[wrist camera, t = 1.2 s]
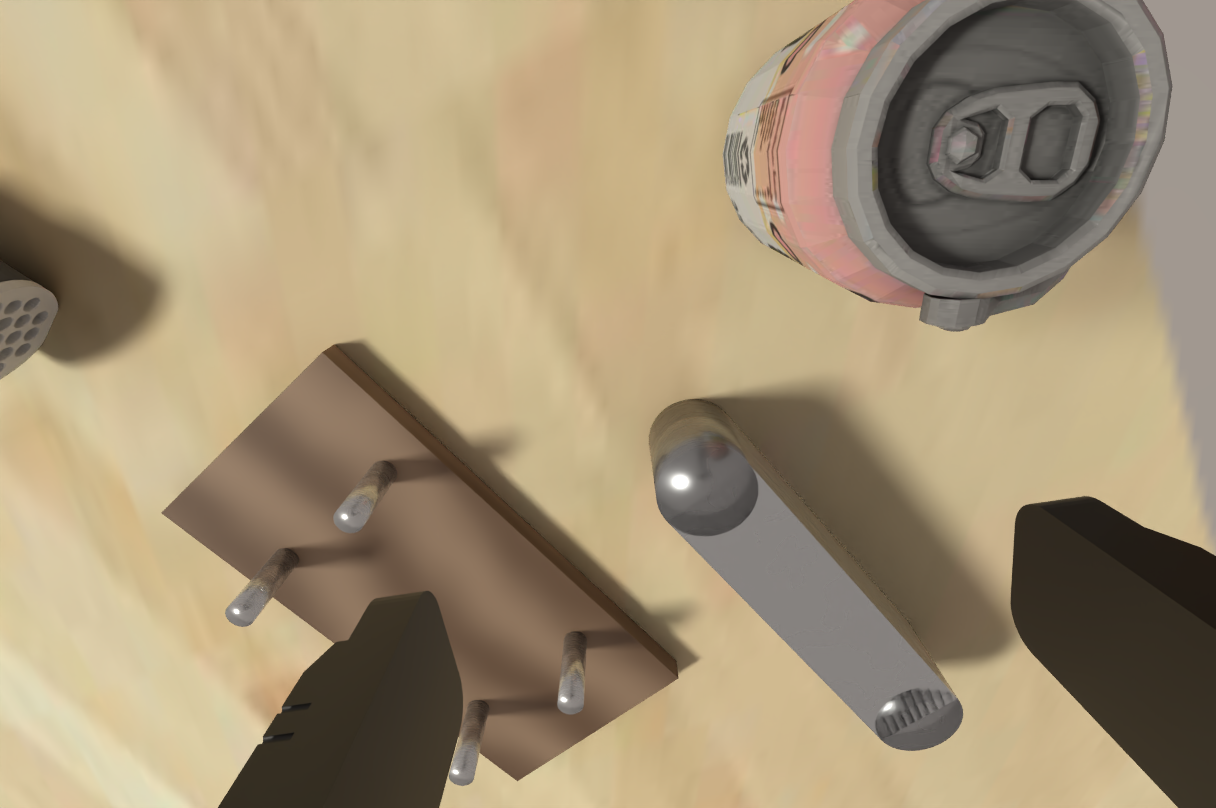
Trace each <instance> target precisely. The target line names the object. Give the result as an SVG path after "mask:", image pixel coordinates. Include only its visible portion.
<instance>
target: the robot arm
mask: <svg viewBox="0 0 1216 808" xmlns="http://www.w3.org/2000/svg"><path fill="white" fill-rule="evenodd" d="M1011 611H1012V616H1013V619H1014V623H1015V625H1016V628H1017V630H1018V633H1019V635H1020V637H1021V638H1022V640H1023V642H1024V643H1025V645H1026V646H1027V648H1028V649H1029V650H1030V651H1031V653H1032V654H1033V655H1034V656H1035V657H1036V658H1037V659H1038V660H1039V661H1040V662H1041V663H1042V664H1043V665H1044V666H1045V668H1046V669H1047V670H1048V671H1049V672H1050V673H1051V674H1052V675H1053V676H1054V677H1055V678H1056V679H1057V680H1058V681H1059V682H1060V683H1061V684H1062V685H1063V687H1064V688H1065V689H1066V690H1067V691H1068V692H1069V693H1070V694H1071V695H1072V696H1073V697H1074V698H1075V699H1076V700H1077V701H1078V702H1079V703H1080V704H1081V706H1082V707H1083V708H1084V709H1085V710H1086V711H1087V712H1088V713H1089V714H1090V715H1091V716H1092V717H1093V718H1094V719H1095V720H1096V721H1097V722H1098V723H1099V724H1100V726H1101V727H1102V728H1103V729H1104V730H1105V731H1106V732H1107V733H1108V734H1109V735H1110V736H1111V737H1112V738H1113V739H1114V740H1115V741H1116V742H1117V743H1118V745H1119V746H1120V747H1121V748H1122V749H1123V750H1124V751H1125V752H1126V753H1127V754H1128V755H1129V756H1130V757H1131V758H1132V759H1133V760H1134V761H1135V762H1136V764H1137V765H1138V766H1139V767H1140V768H1141V769H1142V770H1143V771H1144V772H1145V773H1146V774H1147V775H1148V776H1149V777H1150V778H1151V779H1152V780H1153V781H1154V783H1155V784H1156V785H1157V786H1158V787H1159V788H1160V789H1161V790H1162V791H1163V792H1164V793H1165V794H1166V795H1167V796H1168V797H1169V798H1170V799H1171V800H1172V802H1173V803H1174V804H1175V805H1176V806H1177V807H1178V808H1216V556H1214V555H1213V554H1211V553H1209V552H1208V551H1206V550H1204V549H1202V548H1201V547H1198V546H1195V545H1192V544H1190V543H1187V542H1184V541H1181V540H1178V539H1176V538H1173V537H1170V536H1167V535H1165V534H1162V533H1159V532H1156V531H1153V530H1151V529H1148V528H1144V527H1143V526H1141V525H1139V524H1138V523H1136V522H1134V521H1133V520H1131V519H1130V518H1128V517H1126V516H1125V515H1123V514H1121V513H1120V512H1118V511H1116V510H1115V509H1113V508H1111V507H1110V506H1108V505H1106V504H1105V503H1103V502H1101V501H1100V500H1098V499H1096V498H1093V497H1088V496H1083V497H1076V498H1069V499H1062V500H1056V501H1049V502H1042V503H1035V504H1029V505H1025V506H1023V507H1022V508H1021V509H1020V510H1019V512H1018V513H1017V516H1016V521H1015V534H1014V551H1013V568H1012V586H1011ZM462 715H463V691H462V683H461V678H460V675H459V671H458V668H457V665H456V661H455V658H454V655H453V651H452V648H451V645H450V641H449V638H448V635H447V631H446V628H445V625H444V621H443V618H442V615H441V611H440V608H439V605H438V602H437V600H436V598H435V596H434V595H433V593H432V592H430V591H422V592H415V593H408V594H401V595H394V596H387V597H381V598H375V599H373V600H372V601H371V602H370V604H369V605H368V607H367V608H366V610H365V612H364V613H363V615H362V617H361V619H360V620H359V622H358V624H357V626H356V627H355V629H354V631H353V632H352V634H351V636H350V638H349V639H348V640H345V641H338V642H336V643H335V644H334V645H333V646H331V647H330V648H329V649H328V650H327V651H326V652H325V653H324V654H323V655H322V656H321V657H320V658H319V659H317V660H316V661H315V662H314V663H313V664H312V665H311V666H310V667H309V668H308V669H307V670H306V671H305V672H304V673H303V674H302V676H301V677H300V679H299V680H298V682H297V684H296V685H295V687H294V688H293V690H292V691H291V693H290V695H289V696H288V698H287V699H286V701H285V703H284V704H283V706H282V713H280V714H277V715H276V717H275V718H274V720H273V721H272V723H271V725H270V726H269V728H268V729H267V731H266V733H265V734H264V736H263V743H262V744H259V745H257V747H256V748H255V750H254V751H253V753H252V755H251V756H250V758H249V759H248V761H247V763H246V764H245V766H244V767H243V769H242V770H241V772H240V774H239V775H238V777H237V778H236V780H235V781H234V783H233V785H232V786H231V788H230V789H229V791H228V793H227V794H226V796H225V797H224V799H223V800H222V802H221V804H220V805H219V807H218V808H439V806H440V802H441V799H442V795H443V791H444V787H445V784H446V780H447V776H448V773H449V769H450V765H451V761H452V758H453V754H454V750H455V747H456V743H457V739H458V735H459V732H460V728H461V723H462Z"/></svg>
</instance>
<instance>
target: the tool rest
mask: <svg viewBox="0 0 1216 808" xmlns="http://www.w3.org/2000/svg"><path fill="white" fill-rule="evenodd" d="M162 514H163V515H165V516H166V517H167V518H169V519H170V520H171V521H173V522H174V523H175V524H177V525H178V526H179V527H181V528H182V529H183V530H185V531H186V532H187V533H188V534H190V535H191V536H192V537H194V538H195V539H196V540H198V541H199V542H200V543H202V544H203V545H204V546H206V547H207V548H208V549H210V550H211V551H212V552H214V553H215V554H216V555H218V556H219V557H220V558H222V559H223V560H224V561H226V562H227V563H228V564H230V565H231V566H232V567H234V568H235V569H236V570H238V571H239V572H240V573H242V574H243V575H244V576H246V577H247V578H248V579H250V580H251V581H250V582H249V583H248V584H247V585H246V587H245V588H244V589H243V590H242V591H241V592H240V594H239V595H238V596H237V597H236V598H235V599H234V601H233V602H232V603H231V604H230V605H229V606H228V607H227V609H226V612H225V614H226V617H227V619H228V620H229V621H230V622H231V623H232V624H234V625H237V626H241V627H245V626H249V625H251V624H252V623H253V621H254V620H255V619H256V618H257V616H258V615H259V614H260V612H261V611H262V610H263V609H264V607H265V606H266V605H267V603H268V602H269V601H270V600H271V598H272V597H274V598H275V599H276V600H277V601H279V602H280V603H281V604H283V605H284V606H285V607H287V608H288V609H289V610H291V611H292V612H293V613H295V614H296V615H297V616H299V617H300V618H301V619H303V620H304V621H305V622H307V623H308V624H309V625H311V626H312V627H313V628H315V629H316V630H317V631H319V632H320V633H321V634H323V635H324V636H325V637H327V638H328V639H329V640H331V641H332V642H333V643H336V642H338V641H345V640H348V639H349V638H350V636H351V634H352V632H353V631H354V629H355V627H356V626H357V624H358V622H359V620H360V619H361V617H362V615H363V613H364V612H365V610H366V608H367V607H368V605H369V604H370V602H371V601H372V600H373V599H375V598H381V597H387V596H394V595H401V594H408V593H415V592H422V591H430V592H432V593H433V595H434V596H435V598H436V600H437V602H438V605H439V608H440V611H441V615H442V618H443V621H444V625H445V628H446V631H447V635H448V638H449V641H450V645H451V648H452V651H453V655H454V658H455V661H456V665H457V668H458V671H459V675H460V678H461V683H462V691H463V715H462V723H461V728H460V732H459V735H458V737H459V739H458V743H457V747H456V751H455V754H454V758H453V762H452V766H451V770H450V773H449V779H450V780H451V781H452V782H453V783H454V784H457V785H461V786H464V785H468V784H470V783H472V781H473V779H474V775H475V771H476V766H477V762H478V757H479V753H481V754H482V755H483V756H485V757H486V758H487V759H489V760H490V761H491V762H493V763H494V764H495V765H497V766H498V767H499V768H501V769H502V770H503V771H505V772H506V773H507V774H509V775H510V776H511V777H513V778H514V779H515V780H517V781H518V780H520V779H522V778H523V777H525V776H526V775H528V774H529V773H531V772H533V771H534V770H536V769H537V768H539V767H540V766H542V765H543V764H545V763H547V762H548V761H550V760H551V759H553V758H554V757H556V756H558V755H559V754H561V753H562V752H564V751H565V750H567V749H569V748H570V747H572V746H573V745H575V744H576V743H578V742H580V741H581V740H583V739H584V738H586V737H587V736H589V735H590V734H592V733H594V732H595V731H597V730H598V729H600V728H601V727H603V726H605V725H606V724H608V723H609V722H611V721H612V720H614V719H616V718H617V717H619V716H620V715H622V714H623V713H625V712H627V711H628V710H630V709H631V708H633V707H634V706H636V705H637V704H639V703H641V702H642V701H644V700H645V699H647V698H648V697H650V696H652V695H653V694H655V693H656V692H658V691H659V690H661V689H663V688H664V687H666V686H667V685H669V684H670V683H672V682H673V681H675V680H677V679H678V671H677V663H676V660H675V659H673V658H672V657H671V656H670V655H669V654H668V653H667V652H666V651H665V650H664V649H663V648H662V647H661V646H659V645H658V644H657V643H656V642H655V641H654V640H653V639H652V638H651V637H650V636H649V635H648V634H646V633H645V632H644V631H643V630H642V629H641V628H640V627H639V626H638V625H637V624H636V623H635V622H634V621H632V620H631V619H630V618H629V617H628V616H627V615H626V614H625V613H624V612H623V611H622V610H621V609H619V608H618V607H617V606H616V605H615V604H614V603H613V602H612V601H611V600H610V599H609V598H608V597H607V596H605V595H604V594H603V593H602V592H601V591H600V590H599V589H598V588H597V587H596V586H595V585H594V584H592V583H591V582H590V581H589V580H588V579H587V578H586V577H585V576H584V575H583V574H582V573H581V572H580V571H578V570H577V569H576V568H575V567H574V566H573V565H572V564H571V563H570V562H569V561H568V560H567V559H565V558H564V557H563V556H562V555H561V554H560V553H559V552H558V551H557V550H556V549H555V548H554V547H553V546H551V545H550V544H549V543H548V542H547V541H546V540H545V539H544V538H543V537H542V536H541V535H540V534H538V533H537V532H536V531H535V530H534V529H533V528H532V527H531V526H530V525H529V524H528V523H527V522H526V521H524V520H523V519H522V518H521V517H520V516H519V515H518V514H517V513H516V512H515V511H514V510H513V509H511V508H510V507H509V506H508V505H507V504H506V503H505V502H504V501H503V500H502V499H501V498H500V497H499V496H497V495H496V494H495V493H494V492H493V491H492V490H491V489H490V488H489V487H488V486H487V485H486V484H484V483H483V482H482V481H481V480H480V479H479V478H478V477H477V476H476V475H475V474H474V473H473V472H472V471H470V470H469V469H468V468H467V467H466V466H465V465H464V464H463V463H462V462H461V461H460V460H459V459H457V458H456V457H455V456H454V455H453V454H452V453H451V452H450V451H449V450H448V449H447V448H446V447H445V446H443V445H442V444H441V443H440V442H439V441H438V440H437V439H436V438H435V437H434V436H433V435H432V434H430V433H429V432H428V431H427V430H426V429H425V428H424V427H423V426H422V425H421V424H420V423H419V422H418V421H416V420H415V419H414V418H413V417H412V416H411V415H410V414H409V413H408V412H407V411H406V410H405V409H403V408H402V407H401V406H400V405H399V404H398V403H397V402H396V401H395V400H394V399H393V398H392V397H391V396H389V395H388V394H387V393H386V392H385V391H384V390H383V389H382V388H381V387H380V386H379V385H378V384H376V383H375V382H374V381H373V380H372V379H371V378H370V377H369V376H368V375H367V374H366V373H365V372H364V371H362V370H361V369H360V368H359V367H358V366H357V365H356V364H355V363H354V362H353V361H352V360H351V359H349V358H348V357H347V356H346V355H345V354H344V353H343V352H342V351H341V350H340V349H339V348H338V347H337V346H335V345H333V346H331V347H330V348H328V349H327V350H325V351H324V352H322V353H321V354H320V355H319V356H318V357H317V358H316V359H315V360H314V361H313V362H312V363H311V364H310V365H309V366H308V367H307V368H306V369H305V370H304V371H303V372H302V373H301V374H300V375H299V376H298V377H297V378H296V379H295V380H294V381H293V382H292V383H291V384H290V385H289V386H288V387H287V388H286V389H285V390H284V391H283V392H282V393H281V394H280V395H279V396H278V397H277V398H276V399H275V400H274V401H273V402H272V403H271V404H270V405H269V406H268V407H267V408H266V409H265V410H264V411H263V412H262V413H261V414H260V415H259V416H258V417H257V418H256V419H255V420H254V421H253V422H252V423H251V424H250V425H249V426H248V427H247V428H246V429H245V430H244V431H243V432H242V433H241V434H240V435H239V436H238V437H237V438H236V439H235V440H234V441H233V442H232V443H231V444H230V445H229V446H228V447H227V448H226V449H225V450H224V451H223V452H222V453H221V454H220V455H219V456H218V457H217V458H216V459H215V460H214V461H213V462H212V463H211V464H210V465H209V466H208V467H207V468H206V469H205V470H204V471H203V472H202V473H201V474H200V475H199V476H198V477H197V478H196V479H195V480H194V481H193V482H192V483H191V484H190V485H189V486H188V487H187V488H186V489H185V490H184V491H183V492H182V493H181V494H180V495H179V496H178V497H177V498H176V499H175V500H174V501H173V502H172V503H171V504H170V505H169V506H168V507H167V508H166V509H165V510H164V511H163V512H162Z"/></svg>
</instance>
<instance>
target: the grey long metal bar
mask: <svg viewBox="0 0 1216 808" xmlns="http://www.w3.org/2000/svg"><path fill="white" fill-rule="evenodd" d="M649 446H650V453H651V461H652V469H653V476H654V484H655V491H656V499H657V504H658V507H659V510H660V512H661V514H662V515H663V517H664V518H665V519H666V521H667V522H668V523H669V524H670V525H671V526H672V527H673V528H674V529H675V530H676V531H677V532H678V533H679V534H680V535H681V536H682V537H683V538H684V539H685V540H686V541H687V542H688V543H689V544H690V545H691V546H692V547H693V548H694V549H695V550H696V551H697V552H698V553H699V554H700V555H701V556H702V557H703V558H704V559H705V560H706V562H707V563H708V564H709V565H710V566H711V567H712V568H713V569H714V570H715V571H716V572H717V573H718V574H719V575H720V576H721V577H722V578H723V579H724V580H725V581H726V582H727V583H728V584H729V585H730V586H731V587H732V588H733V589H734V590H735V591H736V592H737V593H738V594H739V595H740V596H741V597H742V598H743V599H744V600H745V601H746V602H747V603H748V604H749V605H750V606H751V607H752V608H753V609H754V610H755V611H756V613H757V614H758V615H759V616H760V617H761V618H762V619H763V620H764V621H765V622H766V623H767V624H768V625H769V626H770V627H771V628H772V629H773V630H774V631H775V632H776V633H777V634H778V635H779V636H780V637H781V638H782V639H783V640H784V641H785V642H786V643H787V644H788V645H789V646H790V647H791V648H792V649H793V650H794V651H795V652H796V653H797V654H798V655H799V656H800V657H801V658H802V659H803V660H804V661H805V663H806V664H807V665H808V666H809V667H810V668H811V669H812V670H813V671H814V672H815V673H816V674H817V675H818V676H819V677H820V678H821V679H822V680H823V681H824V682H825V683H826V684H827V685H828V686H829V687H830V688H831V689H832V690H833V691H834V692H835V693H836V694H837V695H838V696H839V697H840V698H841V699H842V700H843V701H844V702H845V703H846V704H847V705H848V706H849V707H850V708H851V709H852V710H853V711H854V712H855V714H856V715H857V716H858V717H859V718H860V719H861V720H862V721H863V722H864V723H865V724H866V725H867V726H868V727H869V728H870V729H871V730H872V731H873V732H874V733H875V734H876V735H877V736H878V737H879V738H880V739H881V740H882V741H883V742H884V743H886V744H887V745H889V746H891V747H893V748H896V749H900V750H907V751H916V750H923V749H927V748H931V747H934V746H936V745H938V744H940V743H942V742H944V741H946V740H947V739H948V738H950V737H951V736H952V735H953V734H954V733H955V732H956V731H957V729H958V728H959V726H960V724H961V722H962V718H963V709H962V705H961V703H960V702H959V700H958V698H957V697H956V695H955V694H954V692H953V691H952V689H951V688H950V686H949V684H948V683H947V681H946V680H945V678H944V677H943V675H942V674H941V672H940V671H939V669H938V667H937V666H936V664H935V663H934V661H933V660H932V658H931V657H930V655H929V653H928V652H927V650H926V649H925V647H924V646H923V644H922V643H921V641H920V639H919V638H918V636H917V635H916V633H915V632H914V630H913V629H912V627H911V625H910V624H909V623H908V621H907V620H906V619H905V618H904V617H903V616H902V614H901V613H900V612H899V611H898V610H897V609H896V608H895V606H894V605H893V604H892V603H891V602H890V601H889V600H888V598H887V597H886V596H885V595H884V594H883V593H882V592H881V590H880V589H879V588H878V587H877V586H876V585H875V584H874V582H873V581H872V580H871V579H870V578H869V577H868V576H867V574H866V573H865V572H864V571H863V570H862V569H861V568H860V566H859V565H858V564H857V563H856V562H855V561H854V559H853V558H852V557H851V556H850V555H849V554H848V553H847V551H846V550H845V549H844V548H843V547H842V546H841V545H840V543H839V542H838V541H837V540H836V539H835V538H834V537H833V535H832V534H831V533H830V532H829V531H828V530H827V529H826V527H825V526H824V525H823V524H822V523H821V522H820V521H819V519H818V518H817V517H816V516H815V515H814V514H813V513H812V511H811V510H810V509H809V508H808V507H807V506H806V504H805V503H804V502H803V501H802V500H801V499H800V498H799V496H798V495H797V494H796V493H795V492H794V491H793V490H792V488H791V487H790V486H789V485H788V484H787V483H786V482H785V480H784V479H783V478H782V477H781V476H780V475H779V474H778V472H777V471H776V470H775V469H774V468H773V467H772V466H771V464H770V463H769V462H768V461H767V460H766V459H765V457H764V456H763V455H762V454H761V453H760V452H759V451H758V449H757V448H756V447H755V446H754V445H753V444H752V443H751V441H750V440H749V439H748V438H747V437H746V436H745V435H744V433H743V432H742V431H741V430H740V429H739V428H738V427H737V425H736V424H735V423H734V422H733V421H732V420H731V419H730V417H729V416H728V415H727V414H726V413H725V412H724V411H723V410H722V409H721V408H720V407H718V406H717V405H715V404H713V403H710V402H708V401H704V400H698V399H690V400H683V401H679V402H677V403H674V404H672V405H670V406H669V407H667V408H666V409H664V410H663V411H662V412H661V413H660V414H659V415H658V416H657V418H656V419H655V421H654V422H653V425H652V427H651V430H650V434H649Z"/></svg>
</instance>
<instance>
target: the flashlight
mask: <svg viewBox="0 0 1216 808" xmlns="http://www.w3.org/2000/svg"><path fill="white" fill-rule="evenodd" d="M57 311H58V302H57V300H56V297H55V296H54V295H53V293H51V292H50V291H48V290H47V289H45V288H44V287H42V286H41V285H39V284H38V283H36V282H34V281H32V280H31V279H29V278H28V277H26V276H24V275H23V274H21V273H20V272H18V271H16V270H15V269H13V268H12V267H10V266H9V265H7V264H5V263H4V262H2V261H1V260H0V379H2V378H3V377H5V376H6V375H8V374H9V373H11V372H12V371H14V370H15V369H16V368H18V367H19V366H20V365H21V364H23V363H24V362H25V361H26V360H28V359H29V358H30V357H31V356H32V355H33V354H34V353H35V352H36V351H37V349H38V348H39V347H40V346H41V345H42V343H43V342H44V341H45V338H46V336H47V334H48V332H49V330H50V327H51V325H52V323H53V320H54V318H55V316H56V314H57Z"/></svg>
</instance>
